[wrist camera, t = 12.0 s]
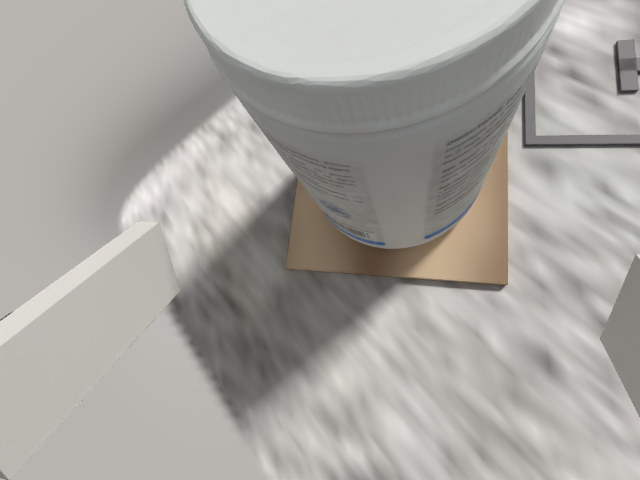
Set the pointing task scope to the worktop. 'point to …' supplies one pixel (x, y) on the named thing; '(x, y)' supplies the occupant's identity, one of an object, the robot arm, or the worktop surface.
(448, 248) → the wooden coaster
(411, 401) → the worktop surface
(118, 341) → the robot arm
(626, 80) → the dark square outline frame
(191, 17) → the supplement tub
